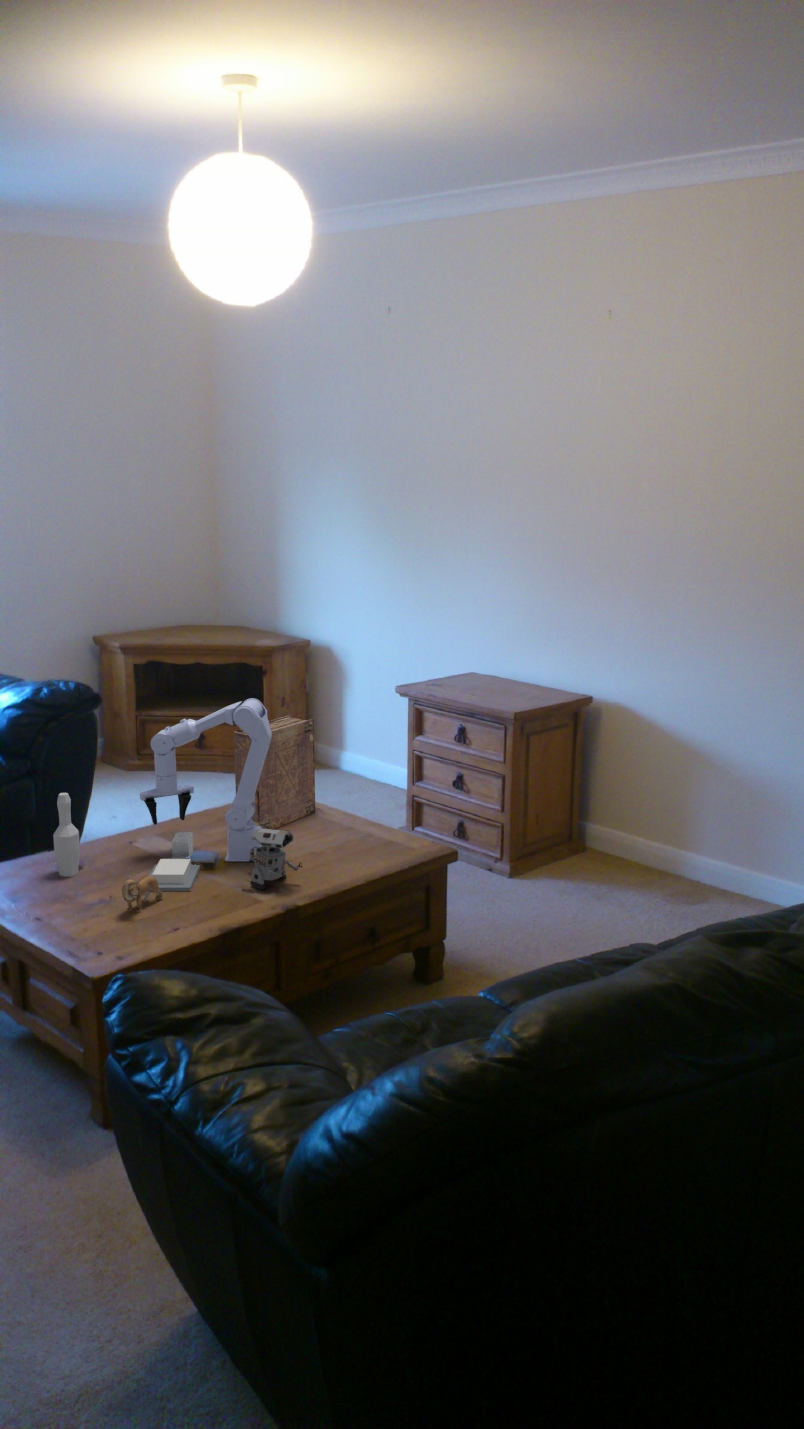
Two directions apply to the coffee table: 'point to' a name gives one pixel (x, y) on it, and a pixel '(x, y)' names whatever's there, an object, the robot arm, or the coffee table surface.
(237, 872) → the coffee table surface
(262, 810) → the book
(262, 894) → the coffee table surface
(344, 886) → the coffee table surface
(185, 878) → the display stand
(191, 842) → the block
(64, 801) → the faceted bottle
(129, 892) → the lion figurine
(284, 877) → the figurine
